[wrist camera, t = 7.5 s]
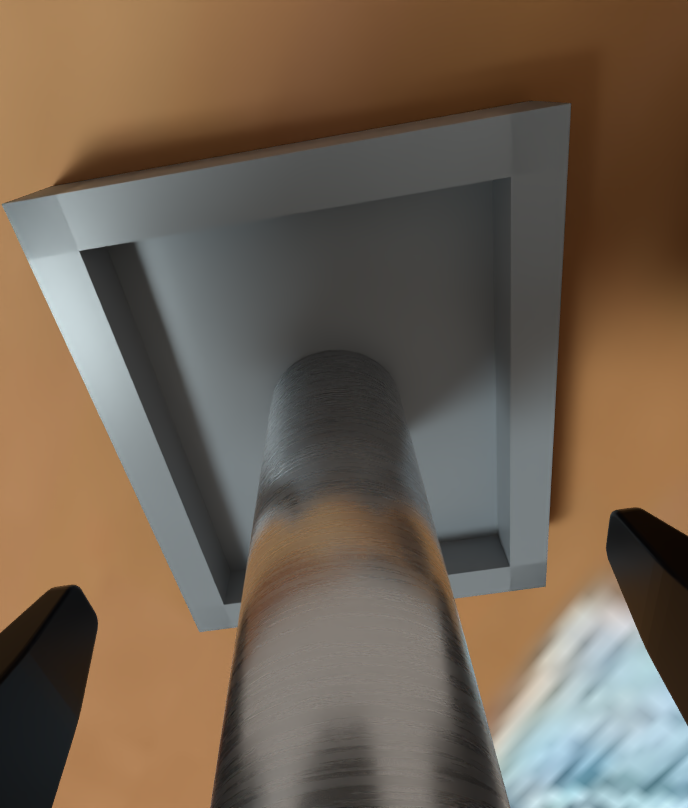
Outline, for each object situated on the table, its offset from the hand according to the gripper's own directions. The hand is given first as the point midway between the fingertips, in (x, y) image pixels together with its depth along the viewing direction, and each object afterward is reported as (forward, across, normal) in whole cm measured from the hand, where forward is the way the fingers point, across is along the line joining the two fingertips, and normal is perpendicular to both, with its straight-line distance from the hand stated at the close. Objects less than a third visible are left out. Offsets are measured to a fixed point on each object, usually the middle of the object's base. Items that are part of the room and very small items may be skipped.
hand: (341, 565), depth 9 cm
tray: (+6, 0, 0) cm, 6 cm away
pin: (+5, 0, 0) cm, 5 cm away
